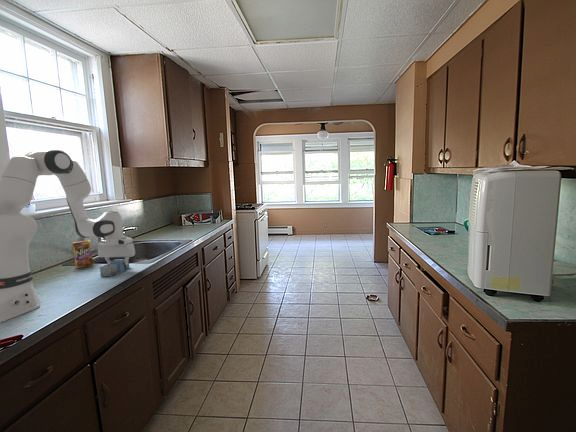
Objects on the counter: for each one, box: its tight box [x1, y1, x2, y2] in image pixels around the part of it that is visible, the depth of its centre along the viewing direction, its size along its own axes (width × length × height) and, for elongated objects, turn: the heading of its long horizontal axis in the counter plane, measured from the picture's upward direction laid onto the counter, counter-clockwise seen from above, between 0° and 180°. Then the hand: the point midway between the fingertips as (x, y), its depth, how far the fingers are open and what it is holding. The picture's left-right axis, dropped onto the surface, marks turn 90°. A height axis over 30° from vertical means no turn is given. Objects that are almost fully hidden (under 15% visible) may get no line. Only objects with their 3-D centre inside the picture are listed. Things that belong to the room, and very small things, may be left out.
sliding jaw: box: [99, 263, 119, 277], centre depth 169 cm, size 6×6×5 cm
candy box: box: [72, 239, 94, 270], centre depth 187 cm, size 9×4×15 cm, turn 123°
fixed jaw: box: [123, 258, 130, 270], centre depth 180 cm, size 3×6×5 cm, turn 83°
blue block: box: [110, 258, 126, 273], centre depth 176 cm, size 4×5×6 cm
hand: (117, 264), depth 176 cm, fingers open, 8 cm apart
